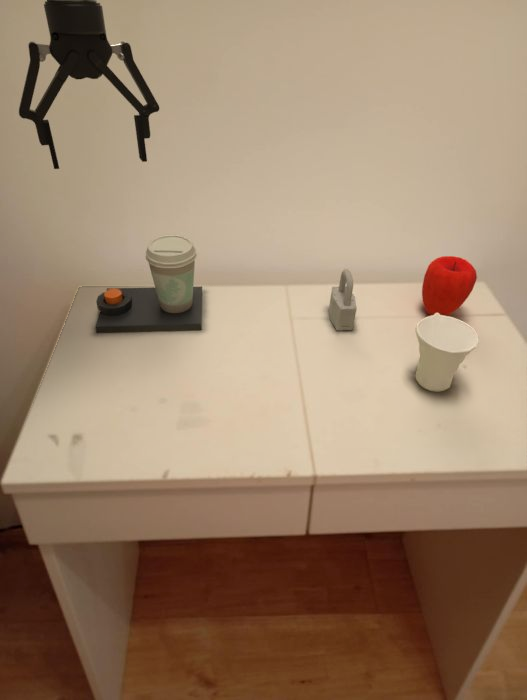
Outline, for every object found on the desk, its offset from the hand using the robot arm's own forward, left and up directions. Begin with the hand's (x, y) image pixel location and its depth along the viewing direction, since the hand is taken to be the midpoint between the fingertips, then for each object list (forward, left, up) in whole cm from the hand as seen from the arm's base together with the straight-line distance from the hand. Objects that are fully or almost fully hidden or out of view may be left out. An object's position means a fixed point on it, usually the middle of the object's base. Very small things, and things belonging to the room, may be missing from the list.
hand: (101, 163), depth 76 cm
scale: (+4, -9, -24) cm, 26 cm away
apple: (+55, -26, -24) cm, 65 cm away
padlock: (+36, -22, -24) cm, 49 cm away
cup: (+42, -41, -24) cm, 63 cm away
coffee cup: (+8, -10, -23) cm, 26 cm away
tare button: (-3, -7, -22) cm, 23 cm away
